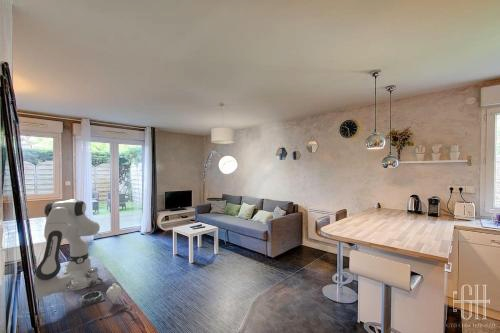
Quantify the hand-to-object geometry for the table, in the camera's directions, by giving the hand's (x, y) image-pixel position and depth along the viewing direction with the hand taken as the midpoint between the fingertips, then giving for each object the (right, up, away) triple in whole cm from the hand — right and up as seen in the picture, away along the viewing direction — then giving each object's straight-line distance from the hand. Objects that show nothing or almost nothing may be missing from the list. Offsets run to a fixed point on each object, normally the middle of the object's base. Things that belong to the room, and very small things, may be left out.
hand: (94, 275), depth 141 cm
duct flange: (-1, -15, -1) cm, 15 cm away
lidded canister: (-1, -5, -1) cm, 6 cm away
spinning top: (+14, -15, -4) cm, 21 cm away
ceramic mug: (-13, -15, +18) cm, 26 cm away
